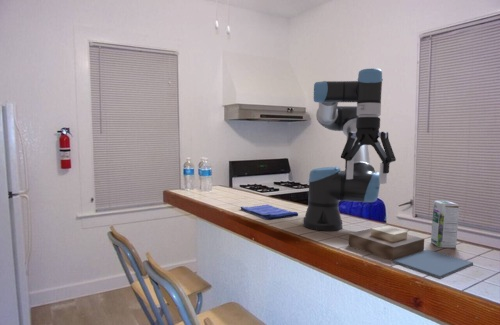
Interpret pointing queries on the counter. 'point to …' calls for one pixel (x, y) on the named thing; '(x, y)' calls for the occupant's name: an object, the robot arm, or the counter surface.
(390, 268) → the counter surface
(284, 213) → the dish towel
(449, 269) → the slate mat
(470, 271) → the counter surface
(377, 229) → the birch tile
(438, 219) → the syrup box
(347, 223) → the counter surface
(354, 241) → the plate
